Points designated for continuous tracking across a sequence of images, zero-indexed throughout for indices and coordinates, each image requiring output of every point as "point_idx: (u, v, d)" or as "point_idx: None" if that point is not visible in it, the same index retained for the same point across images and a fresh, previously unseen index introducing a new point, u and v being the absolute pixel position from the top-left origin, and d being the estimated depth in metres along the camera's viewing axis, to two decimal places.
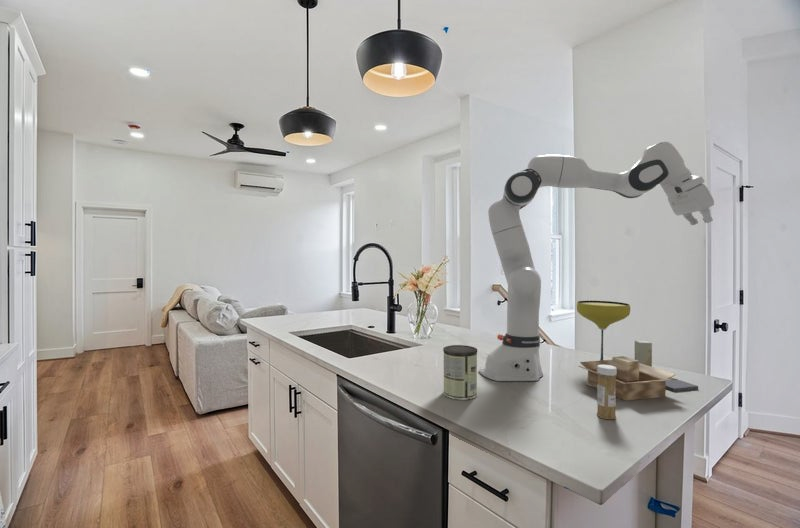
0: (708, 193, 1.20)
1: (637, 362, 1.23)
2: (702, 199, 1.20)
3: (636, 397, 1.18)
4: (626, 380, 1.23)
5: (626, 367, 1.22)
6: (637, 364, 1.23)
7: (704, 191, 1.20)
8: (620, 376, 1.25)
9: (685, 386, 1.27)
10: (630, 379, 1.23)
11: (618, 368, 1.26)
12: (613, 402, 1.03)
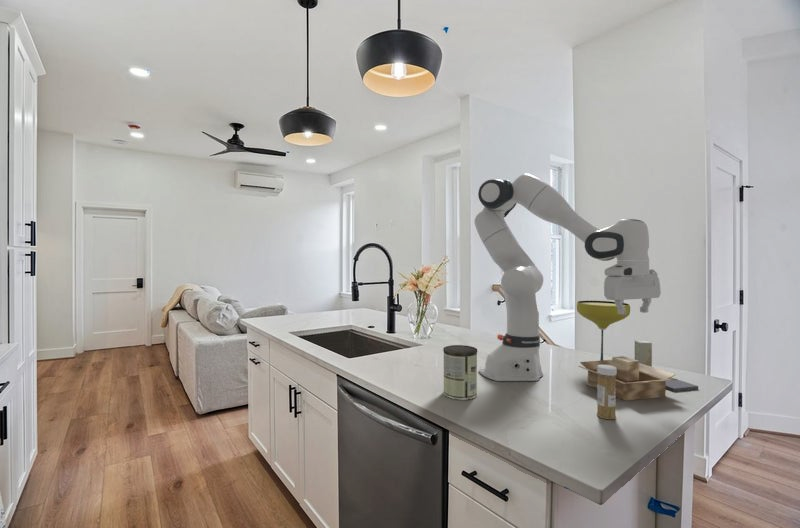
0: (613, 287, 1.20)
1: (637, 362, 1.23)
2: (607, 289, 1.22)
3: (636, 397, 1.18)
4: (626, 380, 1.23)
5: (626, 367, 1.22)
6: (637, 364, 1.23)
7: (612, 284, 1.21)
8: (620, 376, 1.25)
9: (685, 386, 1.27)
10: (630, 379, 1.23)
11: (618, 368, 1.26)
12: (613, 402, 1.03)
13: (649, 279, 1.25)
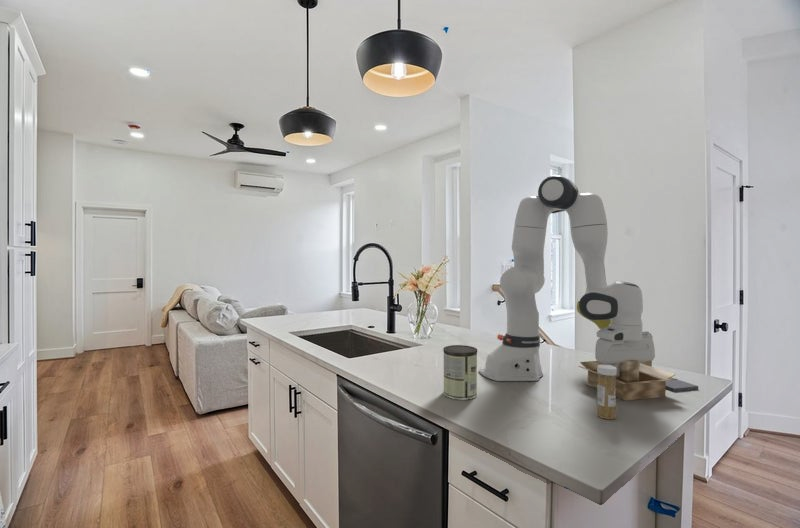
0: (603, 351, 1.22)
1: (637, 362, 1.23)
2: (598, 352, 1.24)
3: (636, 397, 1.18)
4: (626, 380, 1.23)
5: (626, 367, 1.22)
6: (637, 364, 1.23)
7: (603, 348, 1.22)
8: None
9: (685, 386, 1.27)
10: (630, 379, 1.23)
11: (618, 368, 1.26)
12: (613, 402, 1.03)
13: (643, 342, 1.25)
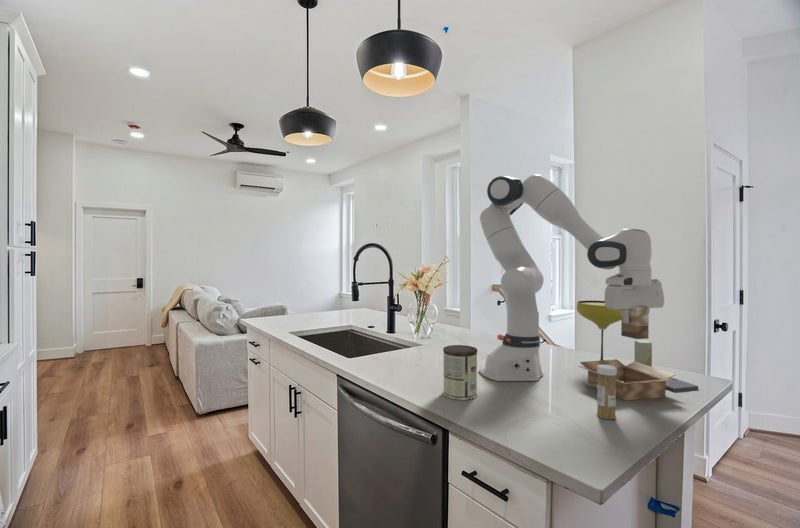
0: (613, 297, 1.22)
1: (646, 308, 1.23)
2: (607, 298, 1.24)
3: (636, 397, 1.18)
4: (636, 325, 1.23)
5: (636, 312, 1.23)
6: (646, 310, 1.23)
7: (612, 293, 1.22)
8: None
9: (685, 386, 1.27)
10: (640, 324, 1.23)
11: None
12: (613, 402, 1.03)
13: (652, 289, 1.25)
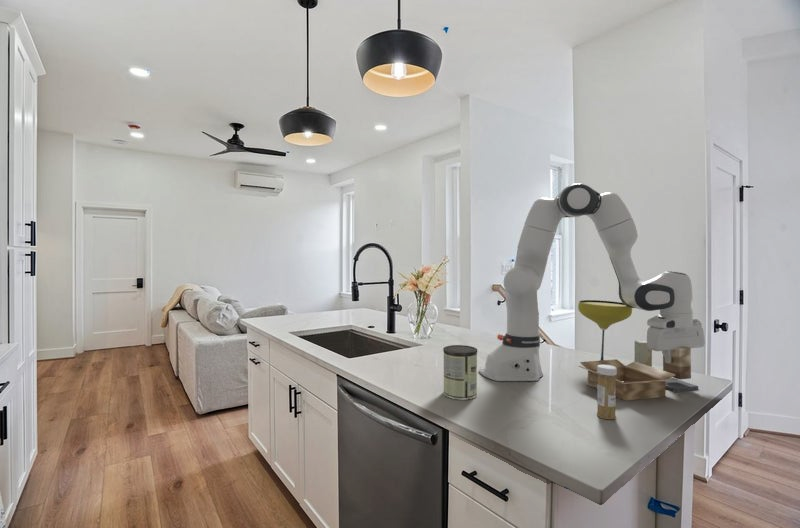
0: (656, 339, 1.26)
1: (689, 348, 1.27)
2: (650, 340, 1.28)
3: (636, 397, 1.18)
4: (679, 366, 1.27)
5: (679, 353, 1.27)
6: (688, 351, 1.27)
7: (655, 335, 1.27)
8: (672, 363, 1.29)
9: (685, 386, 1.27)
10: (682, 365, 1.27)
11: None
12: (613, 402, 1.03)
13: (693, 330, 1.29)
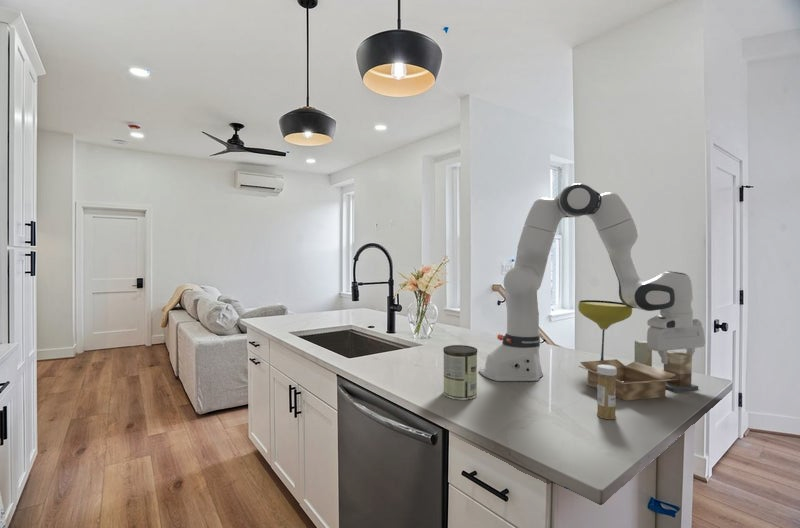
0: (656, 339, 1.26)
1: (690, 356, 1.27)
2: (650, 340, 1.28)
3: (636, 397, 1.18)
4: (679, 373, 1.27)
5: (680, 360, 1.27)
6: (690, 358, 1.27)
7: (655, 335, 1.26)
8: (673, 369, 1.29)
9: (685, 386, 1.27)
10: (683, 372, 1.27)
11: (670, 362, 1.30)
12: (613, 402, 1.03)
13: (693, 330, 1.29)
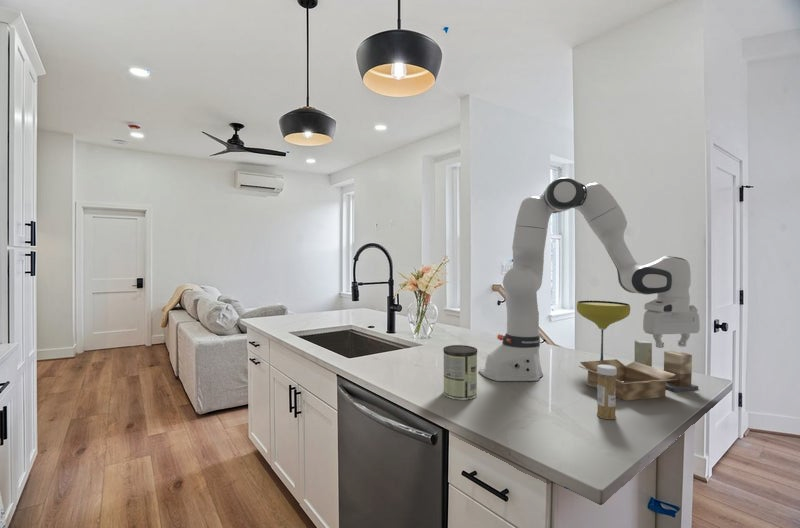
0: (652, 322, 1.26)
1: (690, 356, 1.27)
2: (646, 323, 1.28)
3: (636, 397, 1.18)
4: (679, 373, 1.27)
5: (680, 360, 1.27)
6: (690, 358, 1.27)
7: (651, 319, 1.27)
8: (673, 369, 1.29)
9: (685, 386, 1.27)
10: (683, 372, 1.27)
11: (670, 362, 1.30)
12: (613, 402, 1.03)
13: (689, 315, 1.30)
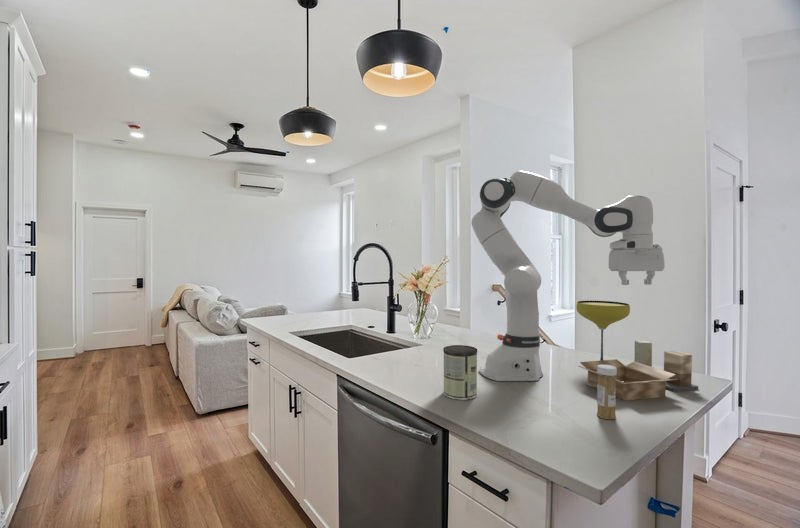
0: (617, 259, 1.29)
1: (690, 356, 1.27)
2: (611, 261, 1.31)
3: (636, 397, 1.18)
4: (679, 373, 1.27)
5: (680, 360, 1.27)
6: (690, 358, 1.27)
7: (616, 256, 1.30)
8: (673, 369, 1.29)
9: (685, 386, 1.27)
10: (683, 372, 1.27)
11: (670, 362, 1.30)
12: (613, 402, 1.03)
13: (653, 253, 1.33)
